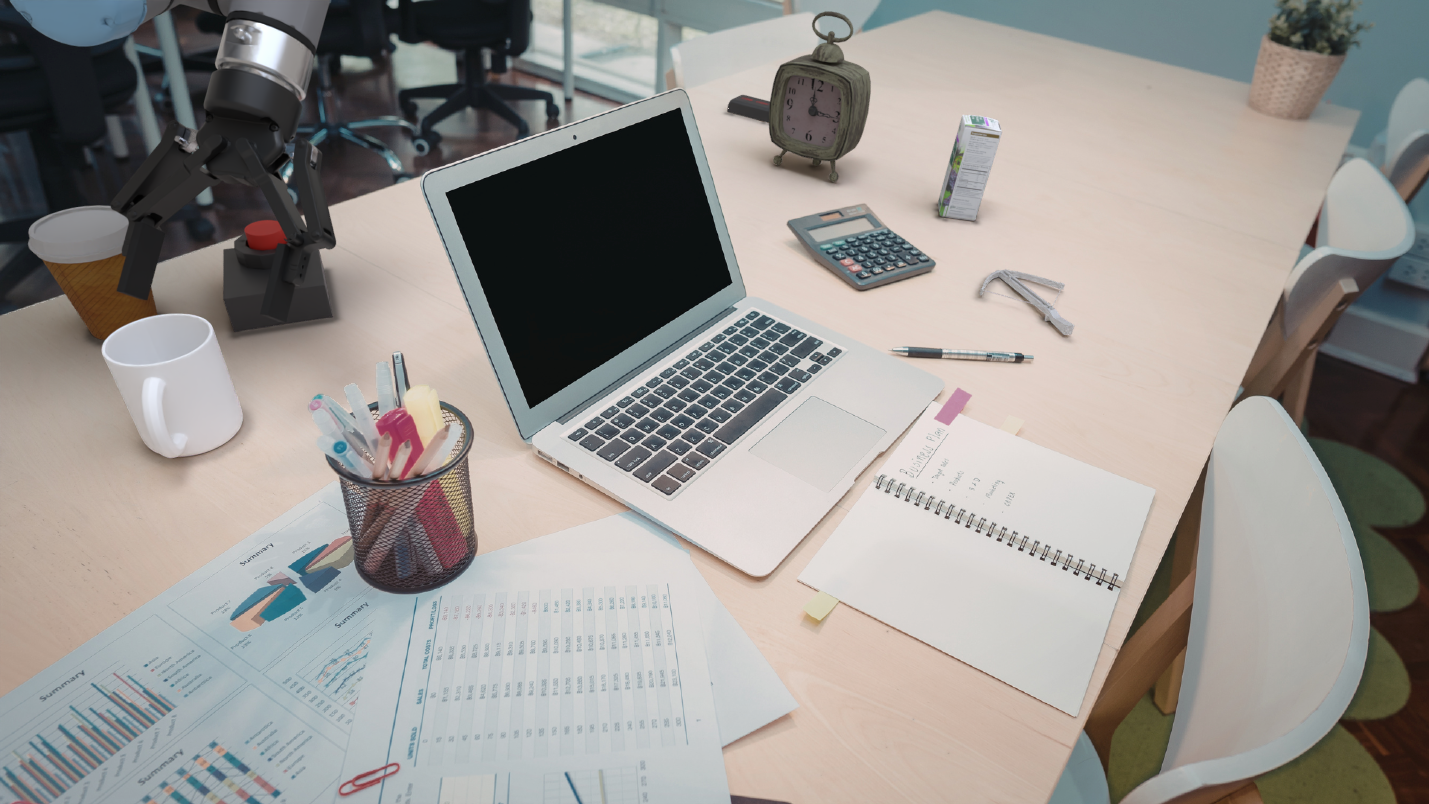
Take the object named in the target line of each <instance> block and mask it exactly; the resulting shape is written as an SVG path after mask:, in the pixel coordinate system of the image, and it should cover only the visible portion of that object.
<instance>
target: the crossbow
mask: <svg viewBox="0 0 1429 804" xmlns="http://www.w3.org/2000/svg"><path fill="white" fill-rule="evenodd" d="M996 278H999V279H1001V280H1002V281H1004V282H1005V283H1006V284H1007V285H1009V286H1010V287H1011V288H1012V289H1013V290H1015V291H1016V292H1017V293H1019V294H1020V295H1021V296H1022V297H1023V298H1024V299H1026V300H1027V301H1026V300H1022V299H1019V298H1015V297H1011V296H1009V295H1004V294H1000V293H996V292H993V291H989V290H985V289H986V287H987V286H988V284H989V283H990V282H991V281H992V280H994V279H996ZM1019 279H1023V280H1027V281H1031V282H1035V283H1038V284H1042V285H1046V286H1049V287H1053V288H1054V289H1059V291H1058V293H1057V296H1056V298H1055V300H1054V302H1053V303H1052V304H1051V303H1050V302H1048V301H1047V300H1045V298H1042V297H1041V296H1040V295H1039V294H1037V293H1036V292H1035V291H1033V290H1032V288H1029V287H1028V286H1027V285H1026V284H1025V283H1024V282H1022V280H1021V281H1020V280H1019ZM1065 286H1066V284H1065V283H1064V282H1058V281H1055V280H1052V279H1049V278H1045V277H1042V276H1038V275H1034V274H1030V273H1026V272H1022V271H1018V270H1010V269H1006V268H1005V269H1000V270H999V269H997V270H995V271H993V272H991V273H990V274H989V275H988V276H987V277H986V279H985V280H984V282H983V284H982V288H980V291H979V296H983V294H984V292H988V293H991V294H995V295H998V296H1001V297H1004V298H1009V299H1012V300H1017V301H1020V302H1023V303H1026V304H1031V305H1033V306H1034V307H1036V308H1037V309H1038V310H1040V311H1041V312H1042V313H1043V314H1045V315H1044V322H1051V324H1053V325H1054V327H1055V328H1056V329H1057V330H1058V331H1059V332H1060V333H1061V334H1062V335H1063V336H1069V335H1070V336H1071V335H1072V334H1073V332H1074V328H1075V324H1074V323H1072V322H1070V321H1068V320H1067V319H1065V318H1064V317H1062V316H1061V315H1060V313H1059V311H1058V310H1057V309H1056V308H1054V305H1055V303H1056V301H1057V299H1058V297H1059V295H1060V293H1061V291H1062V290H1064V288H1065Z"/></svg>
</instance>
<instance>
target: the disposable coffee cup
mask: <svg viewBox="0 0 1429 804" xmlns="http://www.w3.org/2000/svg"><path fill="white" fill-rule="evenodd" d="M128 224H129V222H128V219H127V218H126V217H125V216H123V215H121V214H120V213H118V212H116V211H114V210H112V209H111V207H110V205H99V204H98V205H84V206H83V205H82V206H78V207H71V208H66V209H63V210H59V211H56V212H53V213H50V214H48V215H47V214H46V215H45V216H43V217H41V218H39V219H37V220H36V221H34V222H33V223H32V224H31V225H30V227H28V228H29V229H28V237H29V239H28V241H27V242H28V243H27V245H28V246H27V247H28V249H29V250H30V251H31V252H33V254H34V255H36V256H37V257H38V258H39V259H41V260H42V261H43V264H44V265H45V266H46V268H47V270H48V271H49V273H50V274H51V275H52V277H53V278H54V280H55V282H57V285H58V286H59V287H60V288H61V290H62V292H63V293H64V295H65V296H66V298H67V299H68V301H69V302H70V303H71V305H72V306H73V309H74V310H75V311H76V312H77V315H78V316H79V317H80V319H81V321H83V323H84V324H85V326H86V327H87V329H88V331H89V332H90V334H91V335H92V336H93V337H94V338H96V339H99V340H102V341H105V340H106V339H107V338H108V337H109V336H110V335H111V334H112V333H113V332H115V331H116V330H118V329H119V328H121V327H123V326H125V325H127V324H129V323H132V322H134V321H137V320H140V319H144V318H147V317H152V316H156V315H159V314H158V311H157V305H156V301H155V298H154V293H153V288H152V286H151V289H150V293H149V296H148V300H141V299H137V298H135V297H132V296H129V295H126V294H123V293H120V292H117V287H118V284H119V280H120V276H121V273H122V269H123V265H124V262H125V258H126V257H125V256H122V246H123V244H124V240H125V236H126V232H127V228H128Z"/></svg>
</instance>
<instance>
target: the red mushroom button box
mask: <svg viewBox="0 0 1429 804" xmlns="http://www.w3.org/2000/svg"><path fill="white" fill-rule="evenodd" d="M286 245H288V246H290V243H286ZM222 250H223V252H222V253H223V255H222V260H223V261H222V262H223V263H222V267H223V268H222V300H223V303H224V307H225V309H226V312H227V315H228V318H229V321H230V323H231V326H232V329H233V333H237V332H245V331H253V330H257V329H258V330H259V329H265V328H270V327H277V326H284V325H289V324H297V323H304V322H310V321H317V320H323V319H330V318H333V317H334V316H333V310H332V305H331V300H330V299H331V298H330V294H329V289H328V283H327V279H326V278H327V277H326V273H325V268H324V264H323V261H322V260H323V259H322V255H321V250H320V249H319V250H316V251H314V252H313V253H312V254H311V257H310V261H309V265H308V269H307V273H306V277H305V281H304V283H303V284H302V286H295V289H294V293H293V297H292V302H291V306H290V310H289V314H288V318H287V322H286V323H284V322H278V321H276V320H273V319H271V318H268V317H266V316H263V315H261V314H260V312H261V308H262V304H263V300H264V296H265V292H266V288H267V284H268V280H269V276H270V272H271V268H272V264H273V260H274V256H275V252H276V249H270V250H254V249H251V248H250V247H249V244H248V241H247V237H246V234H245V233H242V234H241V235H240V236H239V237H238V238H236V239H235V240H234V241H233V247H231V248H223V249H222Z"/></svg>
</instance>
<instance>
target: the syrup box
mask: <svg viewBox="0 0 1429 804" xmlns="http://www.w3.org/2000/svg"><path fill="white" fill-rule="evenodd" d="M1002 134H1003V130H1002V127H1001V124H1000V121H999V120H998V119H995V118H992V117H988V116H982V115H974V114H962V115H961V118H960V122H959V125H958V128H957V132H956V136H955V139H954V142H953V146H952V150H951V153H950V156H949V161H948V164H947V167H946V171H945V175H944V178H943V180H942V181H943V182H942V185H941V189H940V193H939V197H938V201H937V206H938V207H937V208H938V212H939V213H938V215H939V217H943V218H948V219H957V220H965V221H973V222H975V221H976V219H977V216H978V212H979V209H980V206H981V203H982V199H983V197H984V193H985V190H986V186H987V183H988V180H989V177H990V173H991V170H992V167H993V164H994V161H995V157H996V154H997V150H998V147H999V145H1000V144H999V143H1000V141H1001V137H1002Z"/></svg>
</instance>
